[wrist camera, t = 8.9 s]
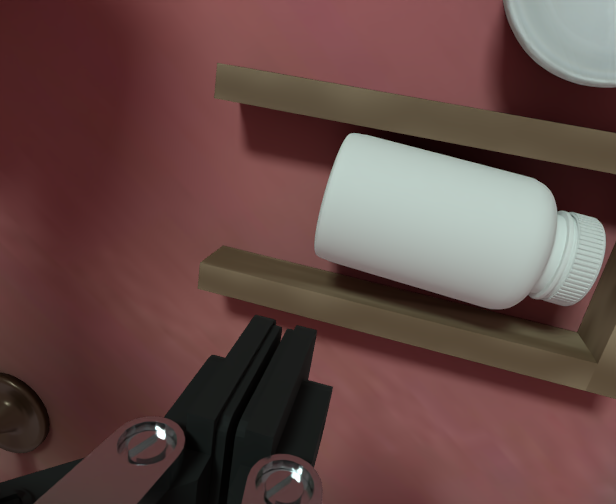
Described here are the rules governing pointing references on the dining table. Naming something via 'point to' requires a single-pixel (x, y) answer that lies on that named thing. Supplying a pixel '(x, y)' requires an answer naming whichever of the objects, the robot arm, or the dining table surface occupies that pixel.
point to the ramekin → (568, 37)
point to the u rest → (413, 306)
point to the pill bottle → (454, 227)
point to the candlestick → (21, 416)
